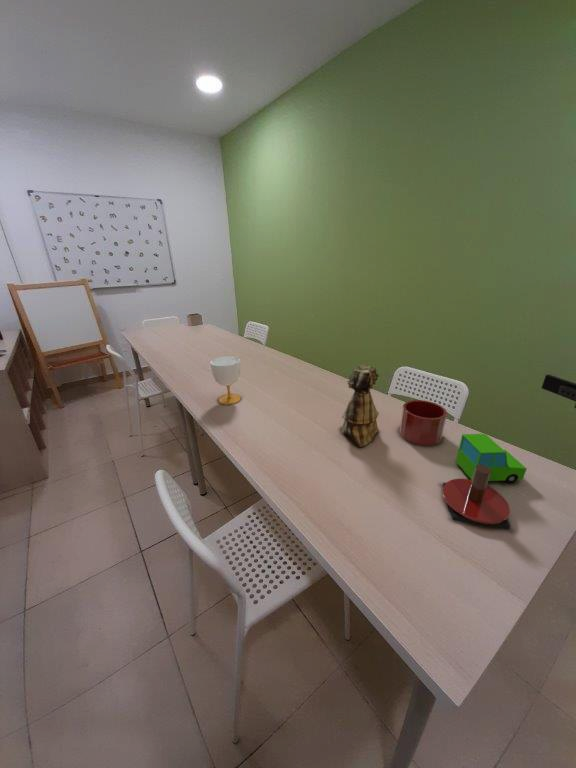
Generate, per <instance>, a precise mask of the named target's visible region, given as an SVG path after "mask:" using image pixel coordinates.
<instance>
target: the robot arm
mask: <svg viewBox="0 0 576 768" xmlns="http://www.w3.org/2000/svg"><path fill="white" fill-rule="evenodd" d="M541 389H543V390H545V391H547V392H550V393H553V394H555V395H557V396H561V397H563V398H566V399H569V400H571V401H574V402H576V383H575V382H572V381H570V380H567V379H564V378H561V377H557V376H556V375H552V374H546V375H545V377H544V380H543V382H542V386H541ZM574 409H576V403H575V404H574Z"/></svg>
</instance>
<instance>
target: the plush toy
mask: <svg viewBox="0 0 576 768" xmlns="http://www.w3.org/2000/svg"><path fill="white" fill-rule="evenodd" d="M378 377H380V375H379V374H378V373H377V369H376V367H373V366H370V365H368V364H361V365H360V364H359V365H357V366H356V367H355V368H354V369H353V370H352V371H351V373H350V374H349V375H348V376H347V378H348V380H347V381H346V383H347V385H348V387H347V388H349V389H352V390H354V392H353V394H352V395H351V397H350V400H349V402H348V404H347V406H346V408H345V410H344V412H343V414H342V416H341V418H342V419H343V423H342V427H341V428H340V429H341V433H342V434H343V435H345V436H346V437H348V438H349V439H350V440H351V441H352V442H353V443H354V445H355V446H356V447H360V448H362V447H366V445H368V444H369V443H371V442H372V441H373V440H374V439H373V438H374V436H375V435H376V434H377V433H378V431H379V427H378V422H377V419H378V417H379V415H380V412H378V410H377V408H376V405H375V402H374V398H373V396H372V393H371V390H372V389H373V386H374V385H376V382H377V381H378Z"/></svg>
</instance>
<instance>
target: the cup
mask: <svg viewBox="0 0 576 768" xmlns="http://www.w3.org/2000/svg"><path fill="white" fill-rule="evenodd" d="M209 363H210V368H211V372H212V376H213V379H214V381H215V382H216V384H218V385H220V386H223V387H226V390H227V394H225V395H223V396H220V397H219V398H218V402H219V403H220V404H222V405H234V404H236V403H238V402H239V401H241V396H240V395H238V394H232V393H231V386H233V385H235V384H237V382H238V381H239V379H240V377H241V359H240V358H239V357H236V356H220V357H216V358H214V359H212V360H210V362H209Z"/></svg>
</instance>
